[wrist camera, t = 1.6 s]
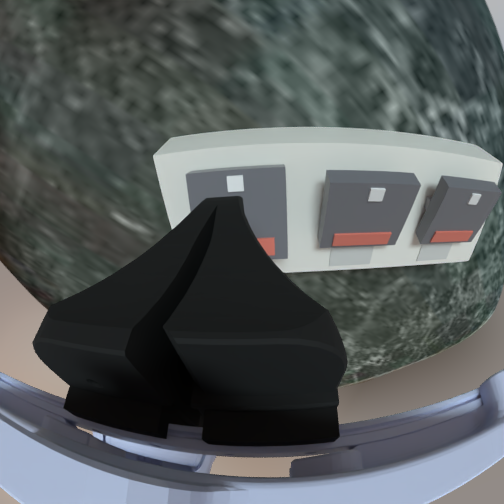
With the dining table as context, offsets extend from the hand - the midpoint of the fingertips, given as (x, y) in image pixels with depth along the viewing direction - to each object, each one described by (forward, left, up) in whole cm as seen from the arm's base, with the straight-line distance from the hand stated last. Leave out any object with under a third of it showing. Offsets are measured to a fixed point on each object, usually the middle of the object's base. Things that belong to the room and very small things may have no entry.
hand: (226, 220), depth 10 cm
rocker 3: (-2, -14, -4) cm, 15 cm away
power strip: (-3, -7, -9) cm, 12 cm away
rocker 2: (-2, -7, -4) cm, 9 cm away
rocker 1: (-2, 0, -4) cm, 5 cm away
